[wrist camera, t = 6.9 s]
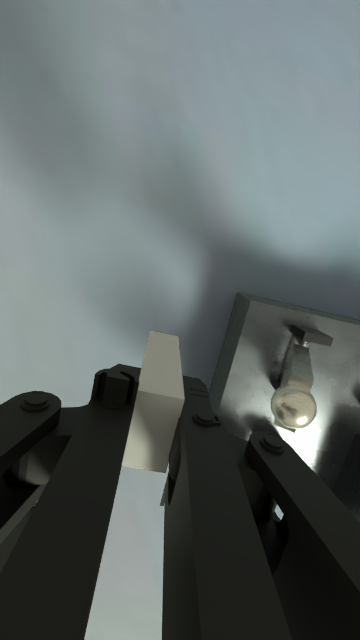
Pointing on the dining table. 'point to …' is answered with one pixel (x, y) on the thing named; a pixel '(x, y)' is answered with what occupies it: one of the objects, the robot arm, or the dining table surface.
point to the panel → (265, 378)
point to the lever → (295, 392)
